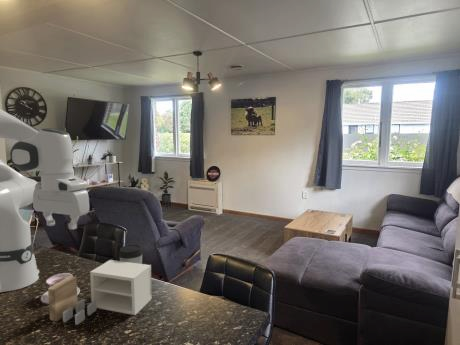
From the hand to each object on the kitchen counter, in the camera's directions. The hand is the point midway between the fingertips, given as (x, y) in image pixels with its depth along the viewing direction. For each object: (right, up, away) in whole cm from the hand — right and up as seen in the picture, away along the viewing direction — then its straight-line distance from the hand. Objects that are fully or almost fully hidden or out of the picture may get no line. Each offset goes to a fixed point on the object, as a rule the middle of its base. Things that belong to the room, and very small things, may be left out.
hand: (61, 227), depth 92 cm
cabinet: (+13, -27, +4) cm, 30 cm away
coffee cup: (+16, -26, +18) cm, 35 cm away
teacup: (-7, -26, +13) cm, 30 cm away
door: (0, -27, +2) cm, 27 cm away
